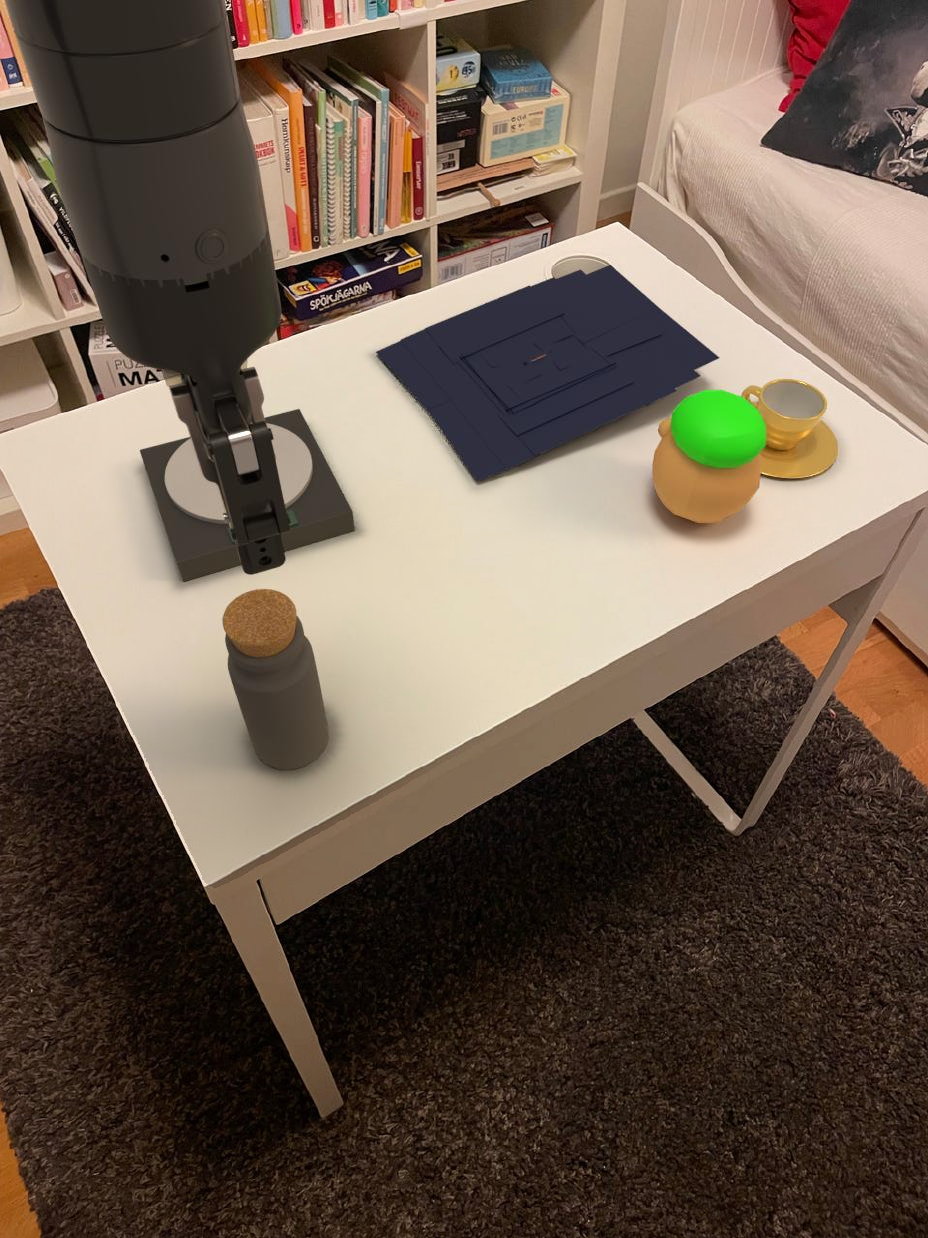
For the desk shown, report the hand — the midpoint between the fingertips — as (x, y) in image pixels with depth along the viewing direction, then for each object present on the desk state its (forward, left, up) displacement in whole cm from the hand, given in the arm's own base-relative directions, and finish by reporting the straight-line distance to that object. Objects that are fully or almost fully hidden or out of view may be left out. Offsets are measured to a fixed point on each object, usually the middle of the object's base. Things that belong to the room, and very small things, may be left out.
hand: (243, 512), depth 48 cm
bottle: (0, +1, -26) cm, 26 cm away
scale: (+4, +28, -25) cm, 38 cm away
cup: (+56, +15, -26) cm, 63 cm away
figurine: (+43, +11, -26) cm, 51 cm away
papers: (+39, +34, -26) cm, 58 cm away
